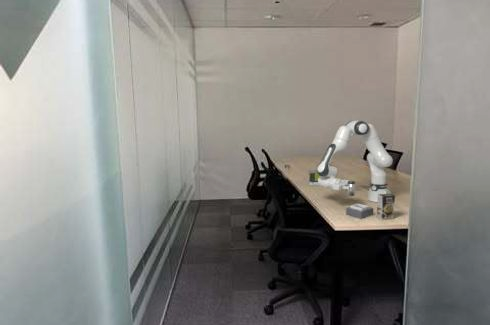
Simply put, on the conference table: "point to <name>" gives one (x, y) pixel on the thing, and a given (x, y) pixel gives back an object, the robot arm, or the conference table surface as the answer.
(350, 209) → the grey white square holder
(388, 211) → the coffee box
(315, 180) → the tea box
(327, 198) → the conference table surface
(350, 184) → the glass jar
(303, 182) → the conference table surface
